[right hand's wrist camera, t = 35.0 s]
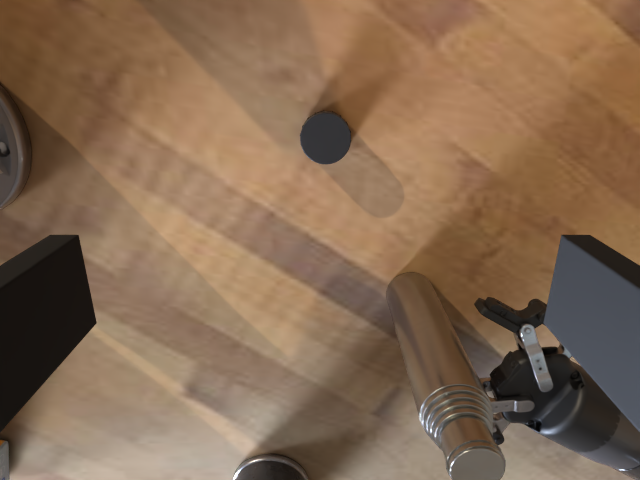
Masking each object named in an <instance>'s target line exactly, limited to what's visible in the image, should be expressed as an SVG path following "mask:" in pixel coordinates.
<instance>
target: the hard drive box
mask: <svg viewBox="0 0 640 480" xmlns="http://www.w3.org/2000/svg"><path fill="white" fill-rule="evenodd" d="M0 480H9V447H8V441H4V440H0Z"/></svg>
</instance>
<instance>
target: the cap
mask: <svg viewBox="0 0 640 480" xmlns="http://www.w3.org/2000/svg"><path fill="white" fill-rule="evenodd" d="M350 133H351V131H350V130H349V128H348V125H347V122H345V120H344V119H343V118H342V117H341V115H340V116H339V115H338V114H336V113H334V112H333V111H332V112H330V111H321V112H318V113H315V114H313V115H312V116H311V117H309V118H308V119H307V121H306V122H305V124H304V125H303V126H302V131H301V134H300V141H301V146H302V149H303V151H304V153H305V154H306V155H307V156H308V157H309V158H310V159H311V160H313V161H314V162H317V163H320V164H331V163H334V162H337V161H339V160H340V159H341V158H343V157H344V155H345V154H346V153H347V151H348V150H349V147H350V143H351V134H350Z"/></svg>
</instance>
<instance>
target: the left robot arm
mask: <svg viewBox="0 0 640 480" xmlns="http://www.w3.org/2000/svg"><path fill="white" fill-rule="evenodd" d="M474 305H475V306H476V308H477V309H478V311H479V312H480V313H481V314H482V315H483V316H485V317H486V318H488V319H490V320H492V321H494V322H495V323H497V324H499V325H501V326H503V327H505V328H506V329H508V330H510V331H512V332H514V333H513V334H514V337H515V340H516V344H517V347H518V350H516V351H514V352H511V351H510V352H509V353H508V354H507V355H506V356H505V358H504V360H503V362H502V364H501V365H499V366H498V367H497V368H495V369H494V370H493V371H492V372H491V374H490V376H491V377H490V378H480V379H479V380H480V382H481V384H482V386H483V387H484V389H485V391H492V392H493V395H494V397H495V398H491V397H489V396H488V397H489V399H490V402H491V405H492V409H493V413H496V412H499V413H497V414H493V438H494V440H495V442H496V444H497V445H500V444H502V443H503V442H504V437H503V435H502V432H503V431H504V430H505V428H506V427H507V426H508V425H509V424H510V422H511V423H522V424H525V425H526V426H528V427H529V428H531V429H532V430H534V431H535V432H537V433H539V434H541V435H543V436H545V437H547V438H549V439H551V440H553V441H555V442H557V443H559V444H561V445H563V446H564V447H566V448H568V449H570V450H572V451H574V452H576V453H578V454H580V455H582V456H584V457H586V458H588V459H590V460H593V461H595V462H598V463H601V464H604V465H607V466H610V467H612V468H613V469H615V470H617V471H619V472H621V473H623V474H625V475H627V476H629V477H631V478H633V479H635V480H640V432H639V431H638V430H637V429H636V428H635V426H634V425H633V424H632V423H631V422H630V421H629V420H628V419H627V417H626V416H625V415H624V414H623V413H622V412H621V411H620V409H619V408H618V407H617V406H616V405H615V404H614V403H613V401H612V400H611V399H610V398H609V397H608V396H607V395H606V394H605V392H604V391H603V390H602V389H601V388H600V387H599V386H598V384H597V383H596V382H595V381H594V380H593V379H592V378H591V376H590V375H589V374H588V373H587V372H586V371H585V370H584V369H583V367H581V366H580V365H578V364H576V363H574V362H572V361H570V358H571V357H572V355H571V354H570V353H569V351H568V350H567V349H566V348H565V347H564V346H563V345H562V344H561V342H560V341H559V340H558V339H557V340H558V341H559V343H560V345H559V347H558V348H557V347H542V348H541V347H540V345H539V342H538V339H537V336H536V332H535V328H536V327H538V326H539V325H541V324H544V318H545V313H546V308H547V305H546V304H545V303H543V302H542V301H540V300H539V299H533V300H531V301H530V302H529V303H528V307H527V308H525V309H523V310H519V311H518V310H514V309H513V308H511V307H509V306H507V305H505V304H504V303H502V302H500V301H498V300H497V299H495V298H491V297H487V298H486V300H483V299H481V298H478V300H477V301H476V302H475V303H474ZM544 325H545V324H544ZM545 326H546V325H545ZM233 480H309V479H308V476H307V474H306V472H305V470H304V469H303V468H302V467H301V466H300V465H299V464H298V463H297V462H295V461H293V460H292V459H290V458H287V457H284V456H281V455H275V454H264V455H258V456H255V457H252V458H249V459H248V460H246V461H244V462H243V463H242V464H241V465H240V466H239V467H238V468H237V470H236V471H235V474H234V477H233Z"/></svg>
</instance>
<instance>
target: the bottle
mask: <svg viewBox="0 0 640 480" xmlns="http://www.w3.org/2000/svg"><path fill="white" fill-rule="evenodd" d="M386 298H387V302H388V305H389V309H390V313H391V316H392V320H393V324H394V327H395V331H396V334H397V338H398V342H399V345H400V349H401V352H402V356H403V360H404V363H405V367H406V371H407V374H408V378H409V381H410V385H411V389H412V392H413V396H414V399H415V403H416V407H417V410H418V414H419V418H420V421H421V424H422V426H423V428H424V430H425V431H426V433H427V434H428V435H429V436H430V438H431V439H432V440H433V441H434V442H435V444H436V445H437V446H438V447H439V448H440V449H441V450H442V451H443V454H444V457H445V460H446V469H447V471H448V474H449V475H450V476H451V478H452V480H500V479H501V478H502V476H503V474H504V471H505V458H504V456H503V454H502V452H501V449H500V448H499V447H498V445H497V444H496V442H495V440H494V438H493V409H492V405H491V402H490V399H489V397H488V395H487V393H486V391H485V389H484V387H483V386H482V384H481V382H480V380H479V378H478V376H477V374H476V372H475V370H474V368H473V366H472V364H471V362H470V360H469V358H468V356H467V354H466V352H465V350H464V348H463V346H462V344H461V342H460V340H459V338H458V336H457V334H456V332H455V330H454V328H453V326H452V324H451V322H450V320H449V318H448V316H447V314H446V312H445V310H444V308H443V306H442V304H441V302H440V300H439V298H438V296H437V294H436V292H435V290H434V288H433V286H432V285H431V283H430V281H429V280H428V279H427V278H426V277H425V276H423V275H421V274H419V273H414V272H408V273H403V274H401V275H398V276H397V277H395V278H394V279H393V280H392V281H391V282H390V284H389V285H388V288H387V291H386Z"/></svg>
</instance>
